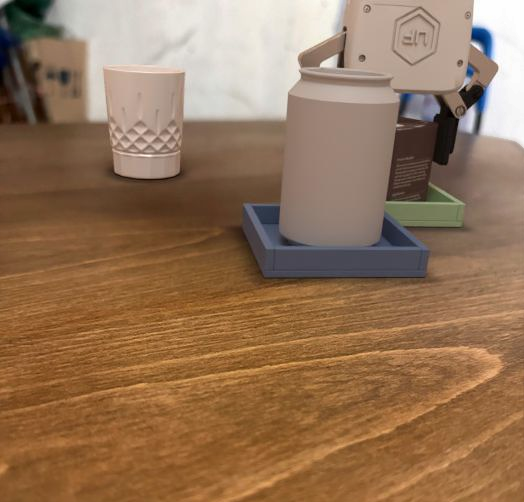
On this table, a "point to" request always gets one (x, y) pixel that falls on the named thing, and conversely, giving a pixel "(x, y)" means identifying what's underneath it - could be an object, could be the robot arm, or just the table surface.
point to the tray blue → (331, 251)
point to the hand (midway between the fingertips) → (386, 160)
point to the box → (411, 160)
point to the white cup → (145, 119)
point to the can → (337, 157)
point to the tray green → (428, 210)
